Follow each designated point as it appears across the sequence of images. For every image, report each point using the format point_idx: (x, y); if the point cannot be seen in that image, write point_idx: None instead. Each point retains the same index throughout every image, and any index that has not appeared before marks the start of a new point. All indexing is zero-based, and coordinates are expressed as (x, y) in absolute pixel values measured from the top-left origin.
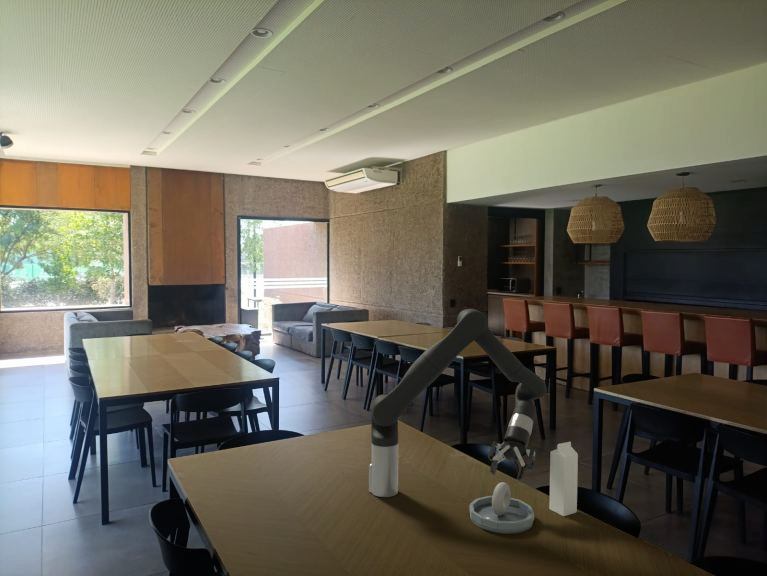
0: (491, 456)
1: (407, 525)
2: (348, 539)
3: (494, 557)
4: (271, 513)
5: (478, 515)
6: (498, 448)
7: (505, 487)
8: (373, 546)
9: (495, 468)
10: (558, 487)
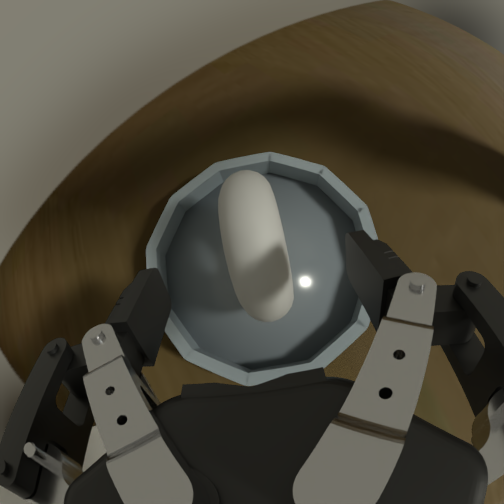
0: (458, 289)
1: (395, 94)
2: (394, 41)
3: (180, 108)
4: (488, 63)
5: (289, 159)
6: (482, 425)
7: (220, 216)
8: (358, 39)
9: (361, 279)
10: (94, 450)
